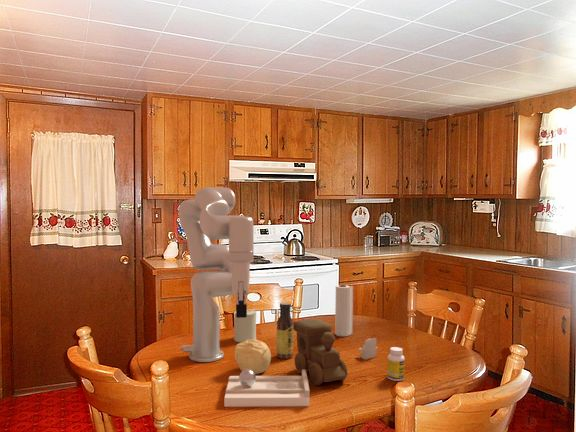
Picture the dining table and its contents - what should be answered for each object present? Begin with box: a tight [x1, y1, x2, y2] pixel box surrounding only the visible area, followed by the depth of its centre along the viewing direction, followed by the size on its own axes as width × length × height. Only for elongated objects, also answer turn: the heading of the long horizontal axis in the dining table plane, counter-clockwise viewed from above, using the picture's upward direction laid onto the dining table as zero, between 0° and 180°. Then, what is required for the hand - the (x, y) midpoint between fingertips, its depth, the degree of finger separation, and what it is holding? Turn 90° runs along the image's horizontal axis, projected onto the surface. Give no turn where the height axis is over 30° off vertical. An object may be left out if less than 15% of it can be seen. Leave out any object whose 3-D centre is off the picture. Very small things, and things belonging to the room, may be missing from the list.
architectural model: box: [358, 337, 379, 360], centre depth 172 cm, size 3×7×7 cm, turn 125°
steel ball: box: [238, 369, 257, 387], centre depth 137 cm, size 5×5×5 cm
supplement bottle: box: [386, 346, 406, 382], centre depth 151 cm, size 5×5×10 cm
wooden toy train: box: [292, 318, 348, 387], centre depth 152 cm, size 20×11×17 cm, turn 26°
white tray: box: [223, 370, 311, 408], centre depth 138 cm, size 24×16×4 cm, turn 92°
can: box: [233, 308, 257, 343], centre depth 191 cm, size 9×9×12 cm
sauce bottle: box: [275, 302, 294, 360], centre depth 171 cm, size 7×6×20 cm
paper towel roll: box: [334, 284, 354, 337], centre depth 198 cm, size 7×6×21 cm
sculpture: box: [234, 339, 272, 375], centre depth 156 cm, size 12×12×11 cm
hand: (241, 316), depth 140 cm, fingers closed
